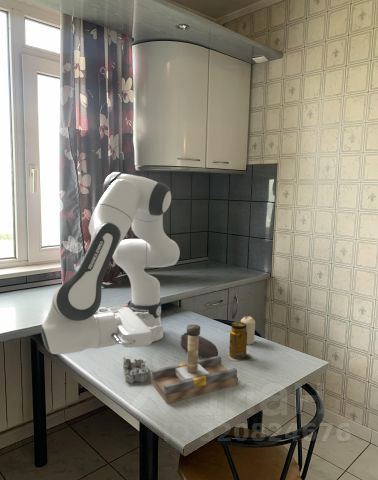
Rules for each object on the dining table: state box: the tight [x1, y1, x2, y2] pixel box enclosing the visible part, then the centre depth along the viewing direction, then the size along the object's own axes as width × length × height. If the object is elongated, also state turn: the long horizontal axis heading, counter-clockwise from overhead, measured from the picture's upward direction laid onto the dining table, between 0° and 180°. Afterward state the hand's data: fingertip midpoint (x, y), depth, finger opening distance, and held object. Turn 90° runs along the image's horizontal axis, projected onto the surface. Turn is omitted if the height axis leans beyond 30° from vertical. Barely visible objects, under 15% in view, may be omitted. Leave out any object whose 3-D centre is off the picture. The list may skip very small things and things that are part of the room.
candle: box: [240, 315, 256, 345], centre depth 146 cm, size 6×6×10 cm
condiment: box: [226, 321, 255, 362], centre depth 133 cm, size 7×8×12 cm
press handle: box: [175, 324, 209, 381], centre depth 113 cm, size 8×7×16 cm
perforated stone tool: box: [180, 332, 219, 359], centre depth 133 cm, size 15×5×7 cm, turn 53°
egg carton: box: [122, 356, 149, 384], centre depth 119 cm, size 11×8×4 cm
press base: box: [150, 355, 239, 404], centre depth 115 cm, size 24×12×4 cm, turn 117°
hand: (155, 321), depth 106 cm, fingers open, 8 cm apart
